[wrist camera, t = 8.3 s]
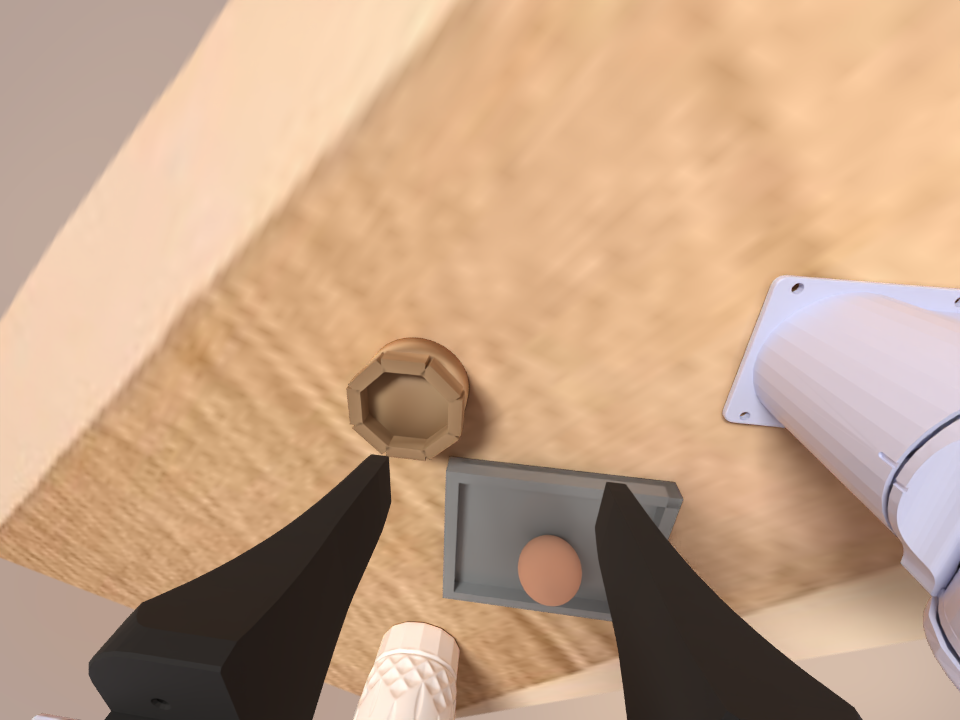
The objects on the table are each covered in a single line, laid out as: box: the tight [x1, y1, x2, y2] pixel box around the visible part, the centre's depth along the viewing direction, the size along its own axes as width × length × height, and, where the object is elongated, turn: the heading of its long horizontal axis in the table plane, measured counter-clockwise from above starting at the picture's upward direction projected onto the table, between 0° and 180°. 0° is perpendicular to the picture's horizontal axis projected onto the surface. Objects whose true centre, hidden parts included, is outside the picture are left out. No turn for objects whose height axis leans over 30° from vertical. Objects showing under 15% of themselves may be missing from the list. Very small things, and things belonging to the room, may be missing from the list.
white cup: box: [353, 622, 459, 720], centre depth 30 cm, size 8×8×10 cm
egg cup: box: [347, 338, 469, 461], centre depth 22 cm, size 6×6×3 cm
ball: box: [518, 535, 582, 606], centre depth 25 cm, size 4×4×4 cm
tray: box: [443, 456, 683, 621], centre depth 27 cm, size 14×12×1 cm
